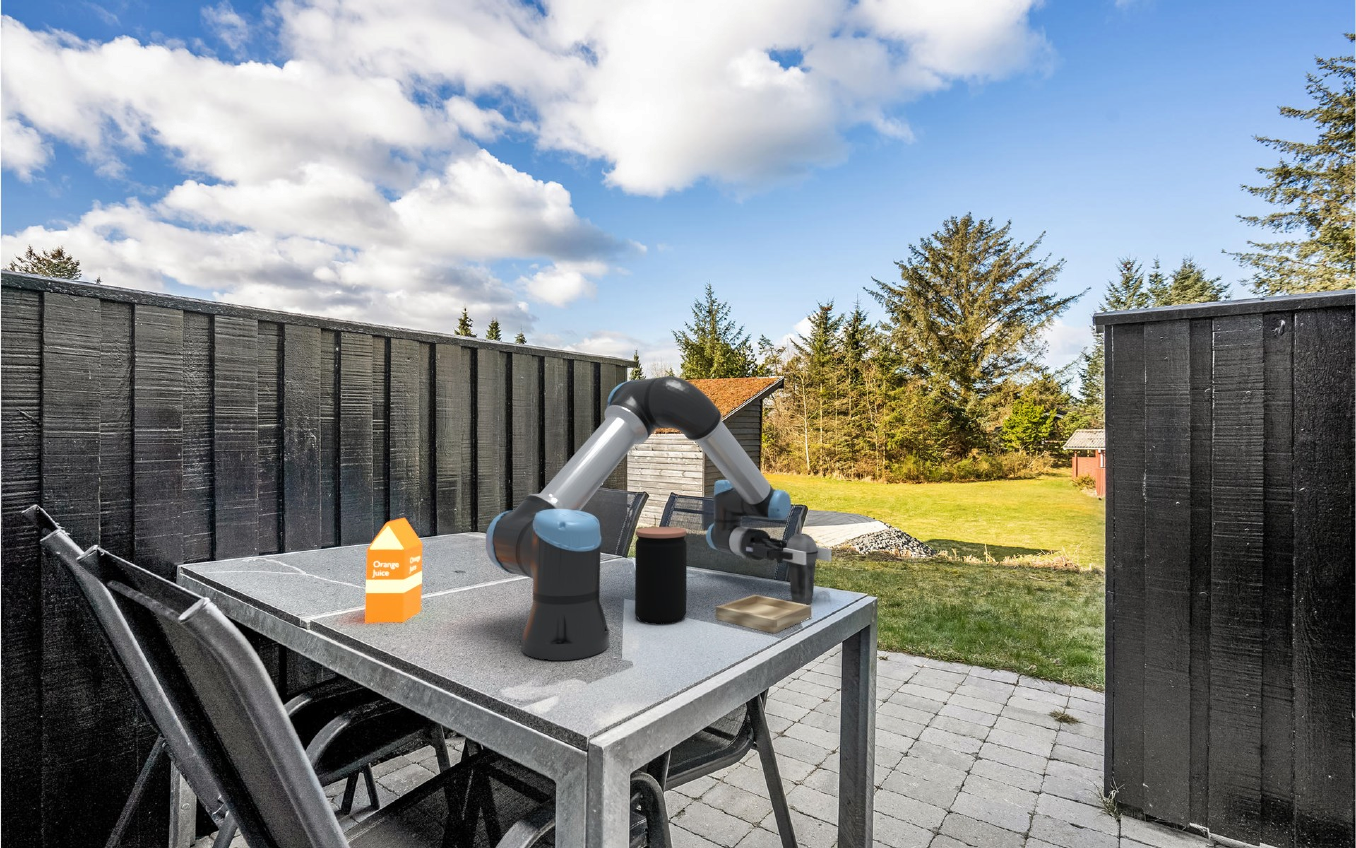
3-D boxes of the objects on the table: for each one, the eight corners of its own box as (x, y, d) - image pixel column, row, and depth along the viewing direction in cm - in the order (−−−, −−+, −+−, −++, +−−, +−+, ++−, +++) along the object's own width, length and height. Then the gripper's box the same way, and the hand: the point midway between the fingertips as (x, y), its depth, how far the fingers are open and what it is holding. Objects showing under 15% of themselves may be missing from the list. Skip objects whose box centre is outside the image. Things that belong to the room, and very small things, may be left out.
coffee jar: (688, 611, 125) (688, 527, 126) (684, 626, 114) (684, 534, 115) (639, 610, 126) (639, 526, 127) (630, 624, 116) (631, 533, 116)
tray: (716, 619, 119) (716, 606, 120) (755, 605, 130) (755, 594, 130) (774, 633, 110) (774, 620, 110) (811, 618, 120) (811, 605, 121)
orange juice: (421, 611, 125) (423, 517, 126) (403, 623, 116) (406, 522, 117) (384, 611, 125) (387, 517, 126) (363, 623, 116) (366, 522, 117)
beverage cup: (822, 600, 134) (821, 513, 135) (812, 608, 128) (811, 516, 129) (792, 596, 138) (791, 511, 139) (781, 603, 132) (780, 514, 133)
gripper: (780, 554, 154) (848, 569, 135) (719, 562, 143) (784, 579, 124) (780, 525, 154) (848, 536, 135) (719, 531, 144) (784, 543, 124)
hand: (817, 556), depth 130 cm, fingers closed on beverage cup, 7 cm apart
